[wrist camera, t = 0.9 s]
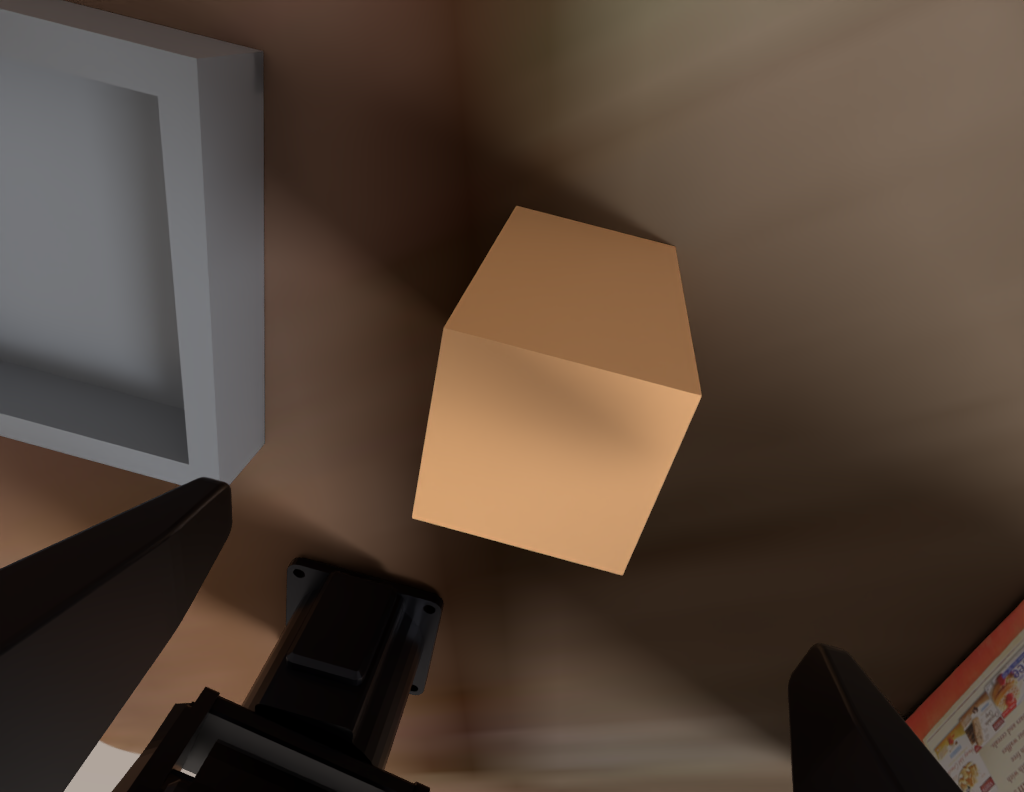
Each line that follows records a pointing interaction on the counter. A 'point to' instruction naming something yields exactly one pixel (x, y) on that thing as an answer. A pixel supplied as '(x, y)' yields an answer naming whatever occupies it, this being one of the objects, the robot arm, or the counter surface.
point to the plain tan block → (560, 392)
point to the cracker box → (981, 714)
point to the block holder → (131, 242)
